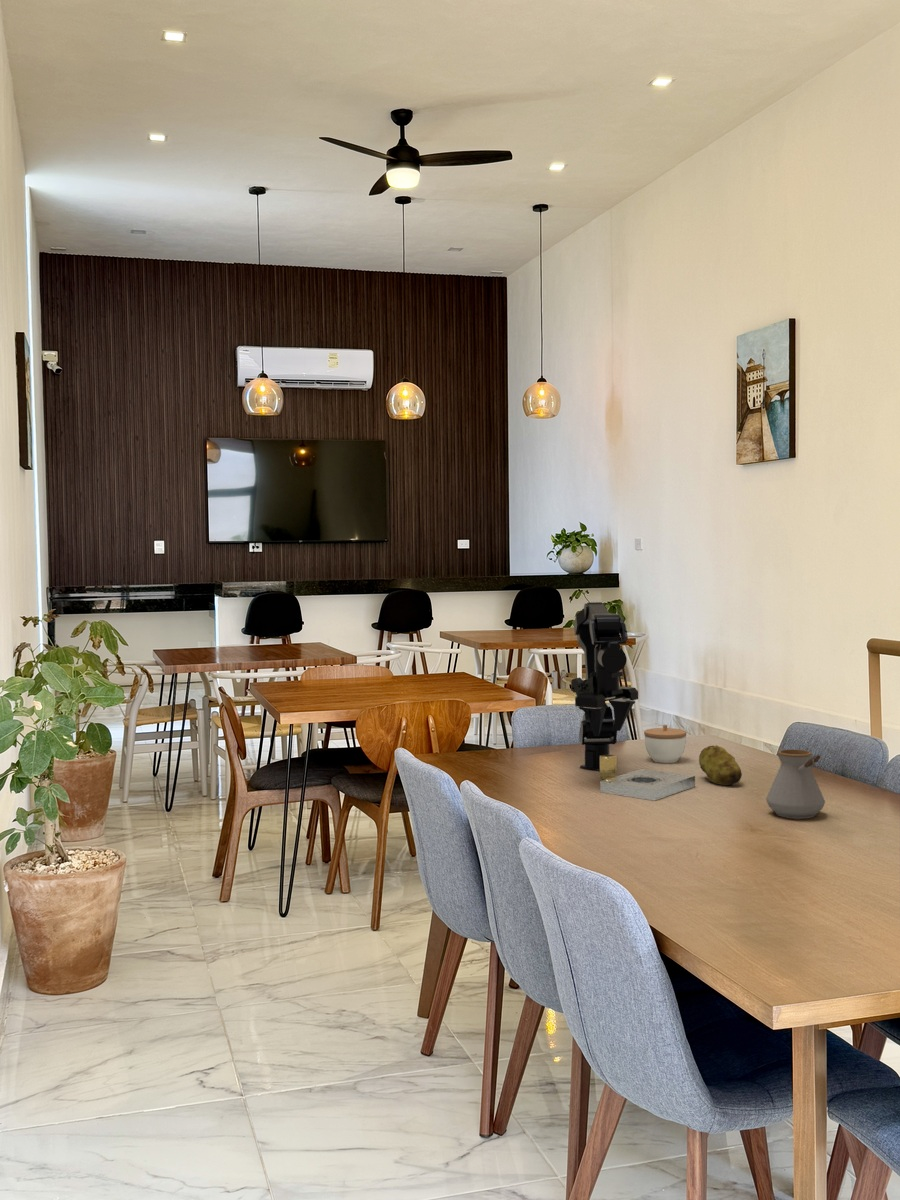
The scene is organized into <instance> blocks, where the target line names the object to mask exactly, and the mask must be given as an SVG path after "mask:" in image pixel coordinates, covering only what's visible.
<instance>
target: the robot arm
mask: <svg viewBox="0 0 900 1200" xmlns="http://www.w3.org/2000/svg"><path fill="white" fill-rule="evenodd" d="M574 617H575V618H574V623H573V626H574V627H573V630H574V633H573V634H574V635H575V636H576V639H577V642H576V643H577V644H578V646H579V647H580V648H581V650H582V651H583V654H584V666H585V679H582V678H581V677H576V678H573V679H571V684H570V691H572V693H574V694H575V695H576V696H575V697H574V705H575V707H578V709H579V710H582V711H583V712H584V713H583V715H582V720H581V721H580V724H579V725H580V726H579V733H578V735H579V737H578V738H579V743H580V744H581V745H582V746H584V764H581V765H580V768H581V769H589V770H595V771H600V755H610V745H616V744H617V742H618V741H617V737H618V736H617V735H618V732H620V731H621V730H622V728H623V726H624V724H625V721H626V720H627V717H628V715H629V713H630V712H631V709H632V708H633V706H634V705H635V704H636V700H639V690H638V689H637V688H636V687H631V686H620V677H623V676H624V671H622V670H623V669H624V668H625V667H626V664H627V661H628V660H627V655H626V653H625V652H624V650H623V649H621V645H626V644H627V641H628V639H629V637H628V636H629V635H628V631H627V625H626V623H625V622H624V619H623V618H621V617H622V616H621V615H620V614H619V613H610V611H609V610H608V609H607V608H606V604H605V602H602V601H601V602H600V601H594V602H592V601H591V602H588V601H587V603H584V606H583V608H582V609H581V610H580V611H579V612H578V613H576V614H575V616H574ZM607 702H609V704H610V705H611V706H608V704H607ZM611 707H612V708H613V709H612V708H611ZM613 717H614V718H613Z"/></svg>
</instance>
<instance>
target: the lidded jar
mask: <svg viewBox="0 0 900 1200" xmlns="http://www.w3.org/2000/svg"><path fill="white" fill-rule="evenodd" d="M643 731H644V733H643V735H644V745H645V750H646V752H647V754H648V755H649V757H650V758H651V759H652V761H653V762H654V761H655V762H654V763H660V764H673V763H678V760H680V759H681V757H682V756H683V755H684V753H685V751H686V750H685V749H686V744H687V730H684V729H680V728H671V727H668V724H662V727H655V728H654V727H653V728H647V729H645V730H643Z"/></svg>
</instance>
